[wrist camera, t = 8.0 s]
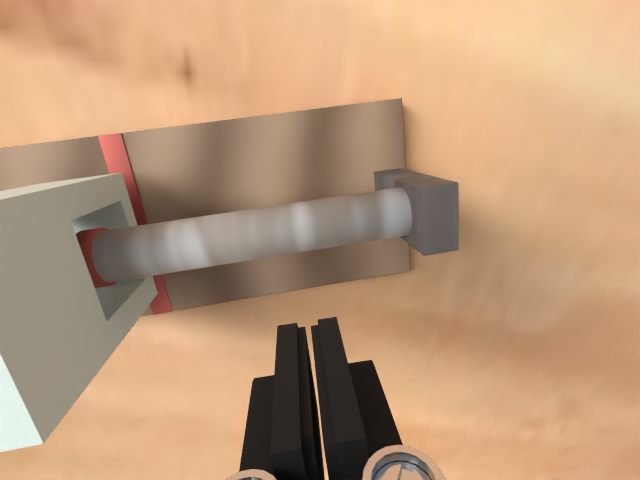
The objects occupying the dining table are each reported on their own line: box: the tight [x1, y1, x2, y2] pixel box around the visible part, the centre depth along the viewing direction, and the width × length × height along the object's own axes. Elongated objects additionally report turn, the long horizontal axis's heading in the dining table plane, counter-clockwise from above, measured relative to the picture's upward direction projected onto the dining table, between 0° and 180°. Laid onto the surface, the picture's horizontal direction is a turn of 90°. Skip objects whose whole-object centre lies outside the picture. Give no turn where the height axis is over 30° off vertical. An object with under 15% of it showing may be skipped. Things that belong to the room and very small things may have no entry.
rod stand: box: [0, 98, 458, 316], centre depth 18 cm, size 23×11×8 cm, turn 97°
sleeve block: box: [0, 173, 158, 452], centre depth 14 cm, size 4×7×10 cm, turn 7°
